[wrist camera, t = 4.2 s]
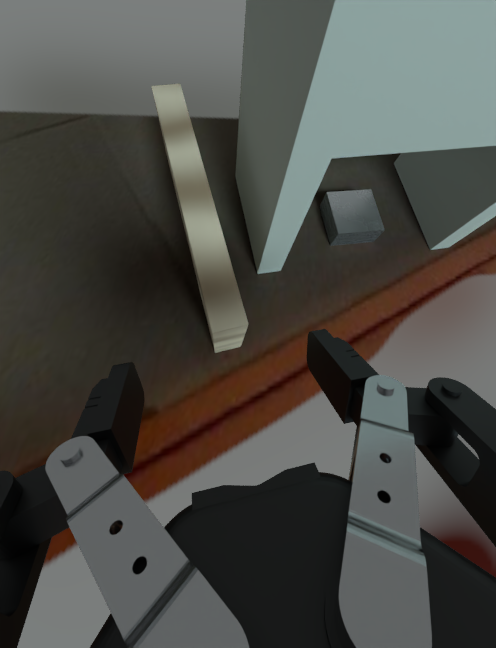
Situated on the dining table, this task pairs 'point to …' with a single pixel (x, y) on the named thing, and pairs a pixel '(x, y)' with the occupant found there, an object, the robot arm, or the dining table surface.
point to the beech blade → (200, 222)
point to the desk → (367, 110)
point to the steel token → (351, 217)
